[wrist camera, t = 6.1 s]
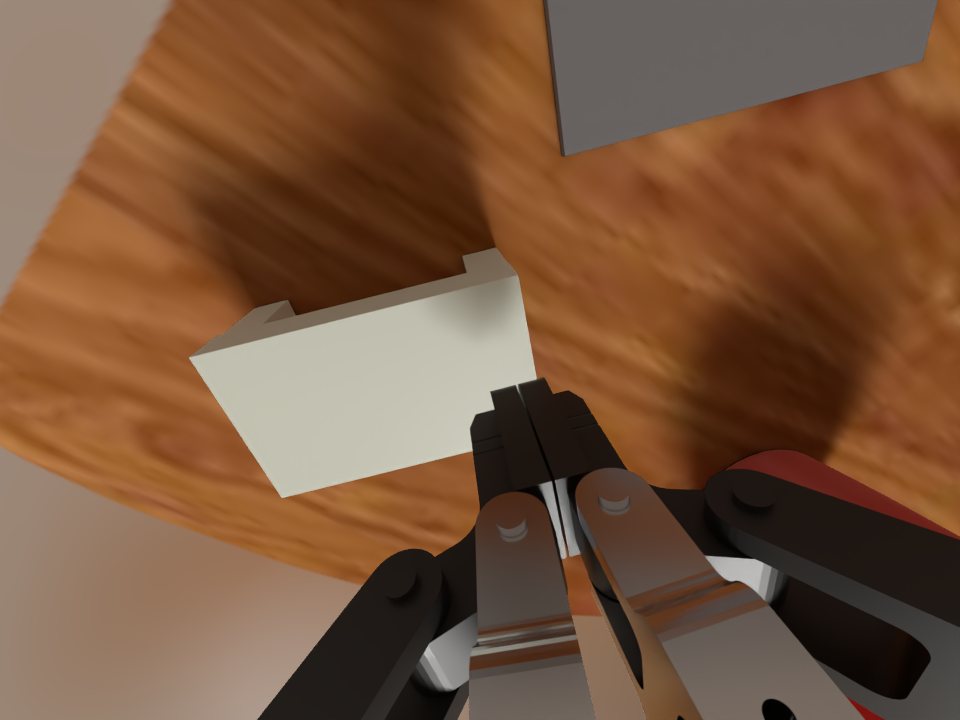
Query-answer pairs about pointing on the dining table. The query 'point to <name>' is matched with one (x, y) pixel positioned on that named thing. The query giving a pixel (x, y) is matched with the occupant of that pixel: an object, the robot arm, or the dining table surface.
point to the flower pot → (837, 485)
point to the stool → (371, 375)
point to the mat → (712, 57)
